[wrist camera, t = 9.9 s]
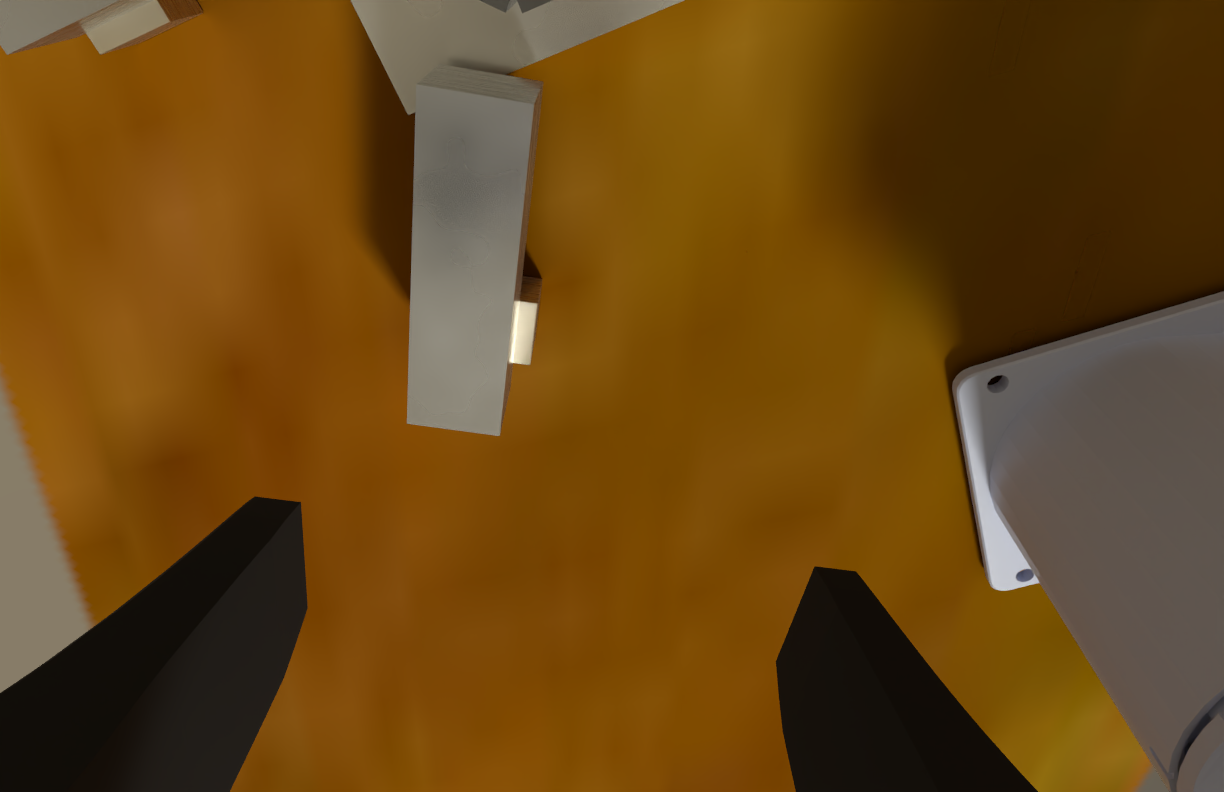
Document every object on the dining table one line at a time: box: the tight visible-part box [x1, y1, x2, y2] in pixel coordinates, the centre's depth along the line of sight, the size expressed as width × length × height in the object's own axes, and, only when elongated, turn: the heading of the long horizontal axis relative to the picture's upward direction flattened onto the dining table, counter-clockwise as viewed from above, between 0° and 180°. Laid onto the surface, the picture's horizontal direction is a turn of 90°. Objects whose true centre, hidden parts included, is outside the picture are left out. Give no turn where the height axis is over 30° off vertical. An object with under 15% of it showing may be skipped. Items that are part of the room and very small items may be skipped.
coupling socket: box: [0, 0, 684, 436], centre depth 14 cm, size 14×15×3 cm
